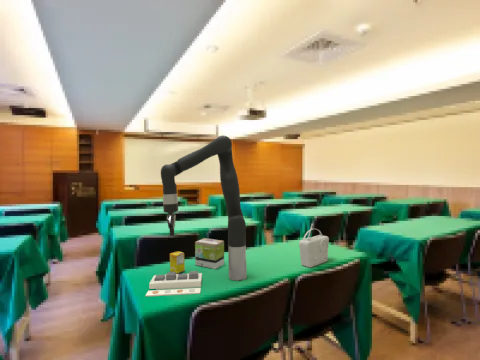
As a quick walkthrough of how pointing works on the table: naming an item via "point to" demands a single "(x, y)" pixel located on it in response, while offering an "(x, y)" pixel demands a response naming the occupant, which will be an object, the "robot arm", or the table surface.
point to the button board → (176, 283)
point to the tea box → (209, 253)
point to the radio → (313, 249)
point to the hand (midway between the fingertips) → (172, 235)
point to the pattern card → (173, 292)
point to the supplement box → (177, 262)
